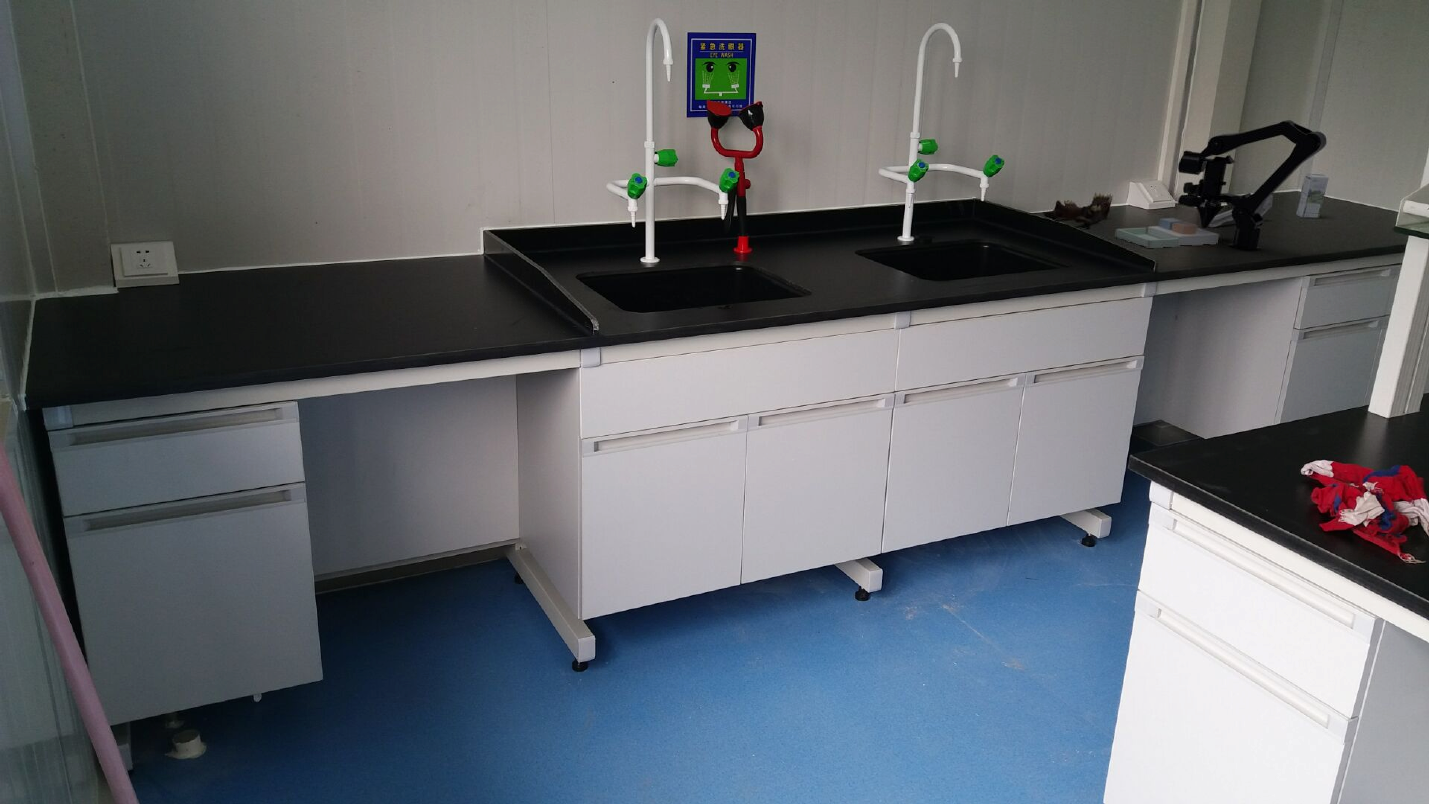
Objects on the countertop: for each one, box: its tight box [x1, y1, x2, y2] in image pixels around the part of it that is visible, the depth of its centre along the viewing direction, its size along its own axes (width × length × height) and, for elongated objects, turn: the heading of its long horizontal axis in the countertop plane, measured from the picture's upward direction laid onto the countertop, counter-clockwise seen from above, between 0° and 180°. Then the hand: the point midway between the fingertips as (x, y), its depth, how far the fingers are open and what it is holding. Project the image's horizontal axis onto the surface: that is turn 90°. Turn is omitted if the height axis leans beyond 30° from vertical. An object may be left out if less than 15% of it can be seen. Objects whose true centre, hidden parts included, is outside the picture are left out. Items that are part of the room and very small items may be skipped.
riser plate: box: [1146, 225, 1220, 247], centre depth 337 cm, size 14×15×3 cm
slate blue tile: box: [1158, 217, 1185, 230], centre depth 339 cm, size 5×5×2 cm
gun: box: [1208, 194, 1274, 229], centre depth 361 cm, size 2×30×8 cm, turn 119°
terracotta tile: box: [1171, 221, 1198, 234], centre depth 333 cm, size 5×5×2 cm
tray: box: [1114, 227, 1179, 249], centre depth 333 cm, size 16×11×2 cm
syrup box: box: [1295, 173, 1330, 219], centre depth 374 cm, size 6×6×14 cm
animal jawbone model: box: [1041, 192, 1113, 229], centre depth 358 cm, size 17×25×10 cm
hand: (1204, 227), depth 335 cm, fingers closed
